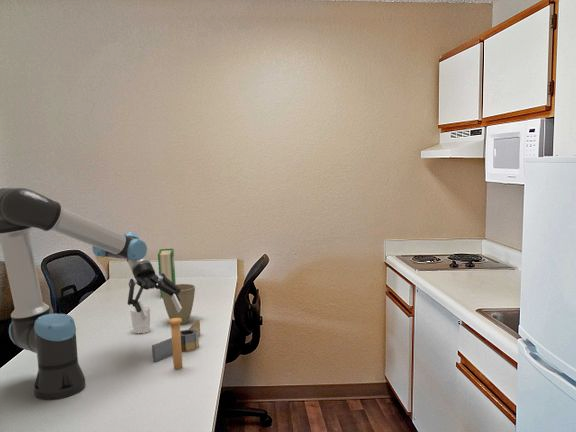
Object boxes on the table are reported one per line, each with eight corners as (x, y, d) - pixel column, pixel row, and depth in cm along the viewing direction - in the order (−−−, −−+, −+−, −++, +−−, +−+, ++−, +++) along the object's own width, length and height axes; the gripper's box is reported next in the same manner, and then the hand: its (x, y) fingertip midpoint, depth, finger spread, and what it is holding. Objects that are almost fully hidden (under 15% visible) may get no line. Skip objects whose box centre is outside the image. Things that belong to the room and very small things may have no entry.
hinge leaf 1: (187, 343, 212) (186, 328, 211) (202, 346, 207) (202, 331, 206) (146, 359, 195) (145, 343, 194) (162, 364, 190) (161, 347, 190)
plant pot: (197, 325, 235) (194, 289, 234) (162, 328, 233) (159, 292, 231) (197, 316, 250) (195, 282, 248) (164, 319, 247) (162, 284, 246)
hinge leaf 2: (175, 351, 203) (174, 336, 202) (190, 334, 223) (189, 319, 223) (194, 351, 202) (194, 335, 201) (207, 333, 223) (207, 319, 222)
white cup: (154, 331, 230) (153, 308, 229) (138, 335, 224) (136, 312, 223) (144, 327, 235) (143, 305, 234) (128, 332, 229) (126, 309, 228)
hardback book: (174, 297, 288) (172, 253, 285) (160, 298, 286) (157, 254, 284) (176, 290, 305) (173, 248, 303) (162, 291, 304) (159, 249, 301)
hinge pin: (170, 370, 184) (166, 321, 183) (173, 365, 189) (170, 317, 187) (182, 369, 184) (179, 321, 182) (186, 365, 188) (183, 317, 187)
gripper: (168, 268, 213) (190, 312, 203) (107, 279, 197) (127, 327, 187) (174, 256, 208) (196, 301, 198) (111, 266, 192) (132, 315, 182)
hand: (163, 314), depth 193 cm, fingers open, 13 cm apart
